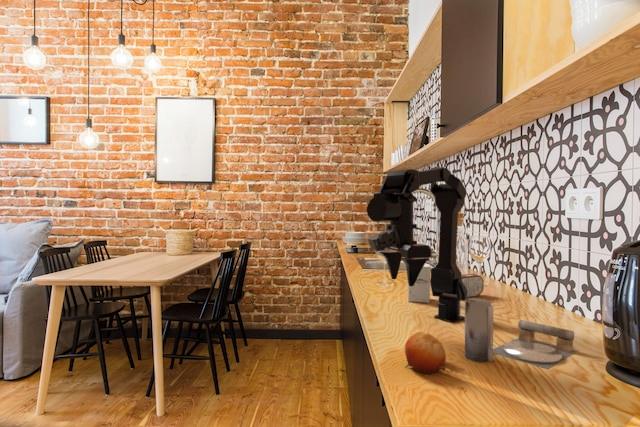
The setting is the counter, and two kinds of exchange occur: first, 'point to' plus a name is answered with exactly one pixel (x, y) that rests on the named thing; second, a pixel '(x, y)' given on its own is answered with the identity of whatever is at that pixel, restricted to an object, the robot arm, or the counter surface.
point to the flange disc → (532, 352)
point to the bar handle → (562, 342)
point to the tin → (473, 284)
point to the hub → (478, 330)
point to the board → (564, 355)
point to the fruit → (424, 353)
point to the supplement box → (421, 287)
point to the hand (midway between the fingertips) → (402, 282)
